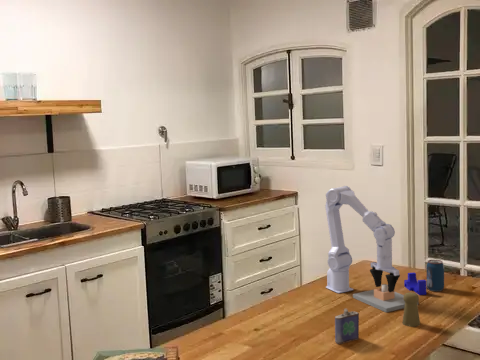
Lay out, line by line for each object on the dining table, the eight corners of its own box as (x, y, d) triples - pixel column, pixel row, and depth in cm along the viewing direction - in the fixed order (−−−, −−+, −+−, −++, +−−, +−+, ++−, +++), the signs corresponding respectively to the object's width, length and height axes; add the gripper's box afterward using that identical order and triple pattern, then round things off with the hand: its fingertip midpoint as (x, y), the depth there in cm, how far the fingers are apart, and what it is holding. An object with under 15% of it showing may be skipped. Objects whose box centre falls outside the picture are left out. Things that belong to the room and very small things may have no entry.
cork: (411, 328, 192) (410, 297, 191) (398, 322, 198) (398, 292, 196) (423, 324, 195) (423, 294, 194) (411, 319, 200) (411, 289, 199)
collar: (373, 296, 221) (373, 289, 221) (384, 294, 224) (384, 287, 223) (383, 300, 216) (383, 293, 216) (394, 298, 219) (394, 290, 218)
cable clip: (404, 286, 238) (404, 273, 237) (414, 286, 238) (414, 272, 237) (415, 295, 226) (415, 281, 225) (426, 295, 226) (426, 280, 225)
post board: (352, 297, 226) (352, 282, 225) (383, 290, 233) (383, 275, 232) (386, 312, 208) (386, 295, 207) (418, 304, 215) (418, 288, 214)
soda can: (445, 288, 233) (445, 260, 232) (442, 292, 227) (442, 264, 226) (428, 285, 237) (428, 258, 236) (424, 290, 231) (424, 262, 230)
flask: (338, 345, 181) (337, 313, 180) (332, 341, 183) (332, 310, 182) (360, 339, 185) (360, 307, 184) (355, 336, 188) (354, 305, 186)
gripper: (364, 253, 223) (364, 286, 225) (389, 261, 210) (389, 295, 212) (378, 250, 226) (378, 283, 228) (403, 258, 213) (403, 292, 215)
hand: (384, 289), depth 220 cm, fingers open, 7 cm apart
